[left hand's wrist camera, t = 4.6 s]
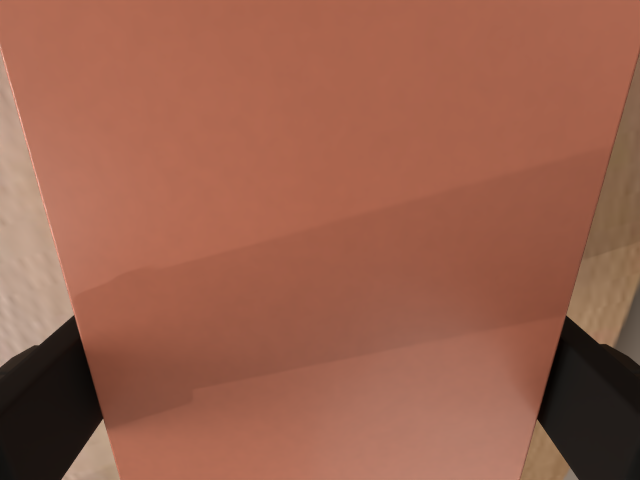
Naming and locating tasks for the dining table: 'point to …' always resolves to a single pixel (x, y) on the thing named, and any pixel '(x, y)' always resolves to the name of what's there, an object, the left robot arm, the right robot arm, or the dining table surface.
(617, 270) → the dining table surface
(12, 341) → the dining table surface
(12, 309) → the dining table surface
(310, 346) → the cabinet
